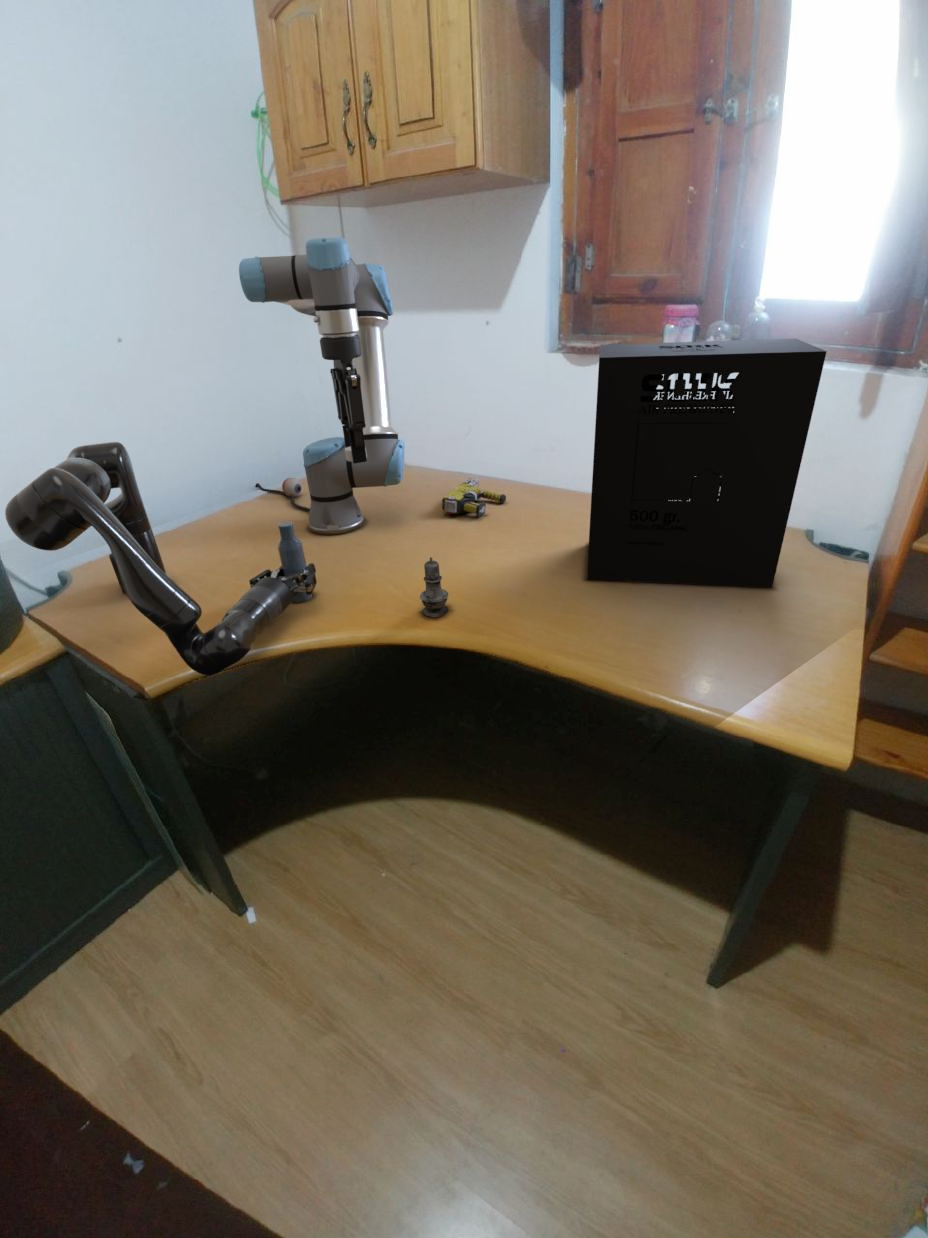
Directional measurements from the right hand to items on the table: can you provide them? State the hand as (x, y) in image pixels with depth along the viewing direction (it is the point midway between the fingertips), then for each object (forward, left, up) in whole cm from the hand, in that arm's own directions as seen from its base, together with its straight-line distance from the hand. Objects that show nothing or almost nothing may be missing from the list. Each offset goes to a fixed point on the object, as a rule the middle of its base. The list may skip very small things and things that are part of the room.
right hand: (356, 459), depth 125 cm
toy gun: (-23, +48, -28) cm, 60 cm away
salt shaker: (+22, +2, -28) cm, 36 cm away
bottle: (-3, -17, -28) cm, 32 cm away
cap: (0, 0, +2) cm, 2 cm away
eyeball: (-71, +10, -28) cm, 77 cm away
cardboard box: (+40, +55, -28) cm, 74 cm away
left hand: (-5, -15, -21) cm, 26 cm away
